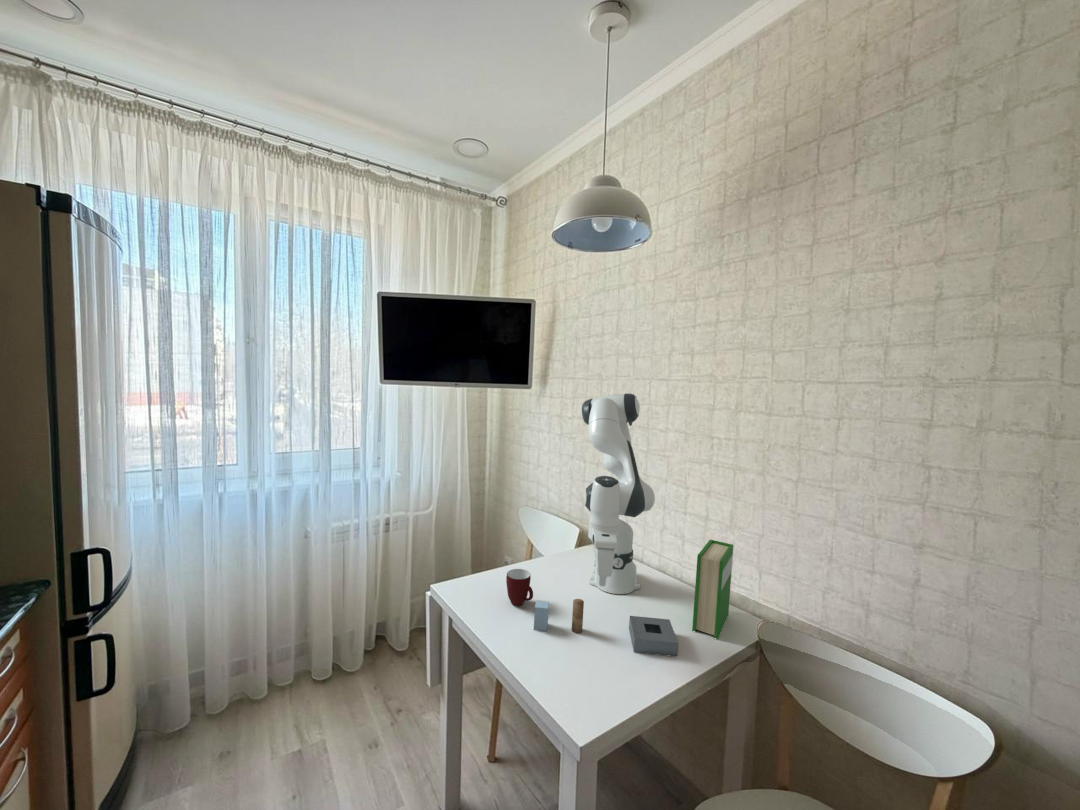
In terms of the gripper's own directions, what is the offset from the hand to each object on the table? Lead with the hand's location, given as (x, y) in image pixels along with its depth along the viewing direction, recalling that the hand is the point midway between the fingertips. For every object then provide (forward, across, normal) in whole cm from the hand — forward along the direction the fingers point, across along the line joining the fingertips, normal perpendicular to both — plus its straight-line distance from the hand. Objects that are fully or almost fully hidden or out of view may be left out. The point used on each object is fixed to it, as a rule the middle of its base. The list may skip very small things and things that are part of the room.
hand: (600, 577), depth 128 cm
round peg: (+17, -1, -6) cm, 18 cm away
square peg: (+17, -1, -17) cm, 24 cm away
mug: (+17, -14, -25) cm, 33 cm away
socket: (+17, +2, +16) cm, 23 cm away
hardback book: (+17, -12, +37) cm, 43 cm away
